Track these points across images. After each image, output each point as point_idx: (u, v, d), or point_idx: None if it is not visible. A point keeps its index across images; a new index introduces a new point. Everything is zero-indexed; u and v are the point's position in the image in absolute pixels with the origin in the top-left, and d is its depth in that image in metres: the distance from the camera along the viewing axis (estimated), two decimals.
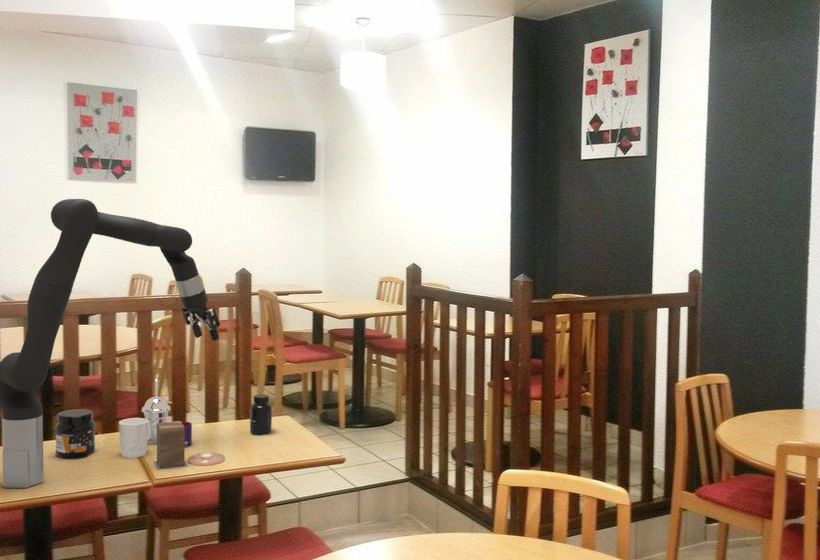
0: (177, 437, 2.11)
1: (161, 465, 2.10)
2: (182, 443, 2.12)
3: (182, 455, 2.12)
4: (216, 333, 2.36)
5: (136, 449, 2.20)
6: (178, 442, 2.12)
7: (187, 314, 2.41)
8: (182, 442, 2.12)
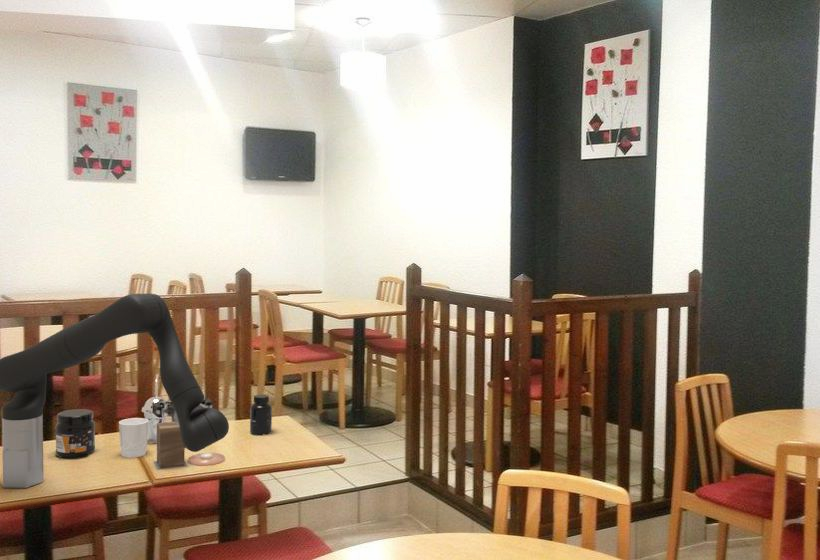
0: (177, 437, 2.11)
1: (161, 465, 2.10)
2: (182, 443, 2.12)
3: (182, 455, 2.12)
4: None
5: (136, 449, 2.20)
6: (178, 442, 2.12)
7: None
8: (182, 442, 2.12)
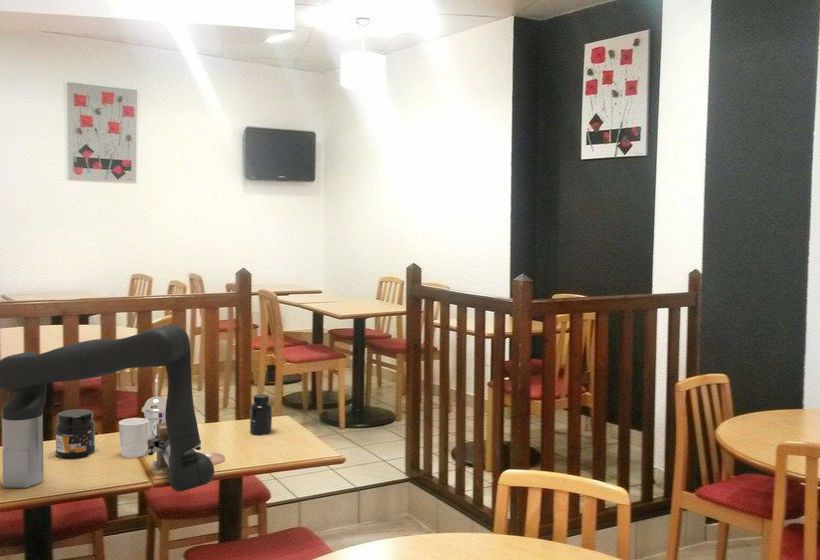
0: None
1: (161, 465, 2.10)
2: None
3: None
4: None
5: (136, 449, 2.20)
6: None
7: None
8: None
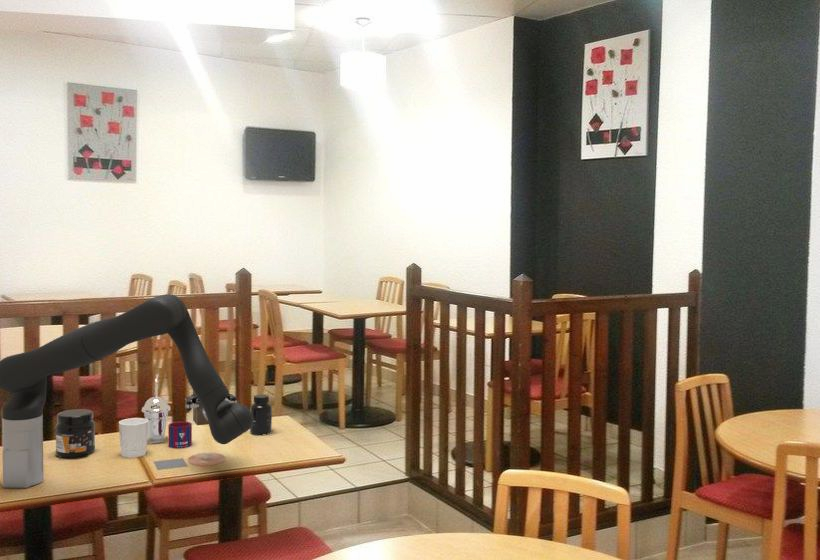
0: None
1: (198, 422, 2.13)
2: None
3: None
4: None
5: (136, 449, 2.20)
6: None
7: (230, 399, 2.14)
8: None
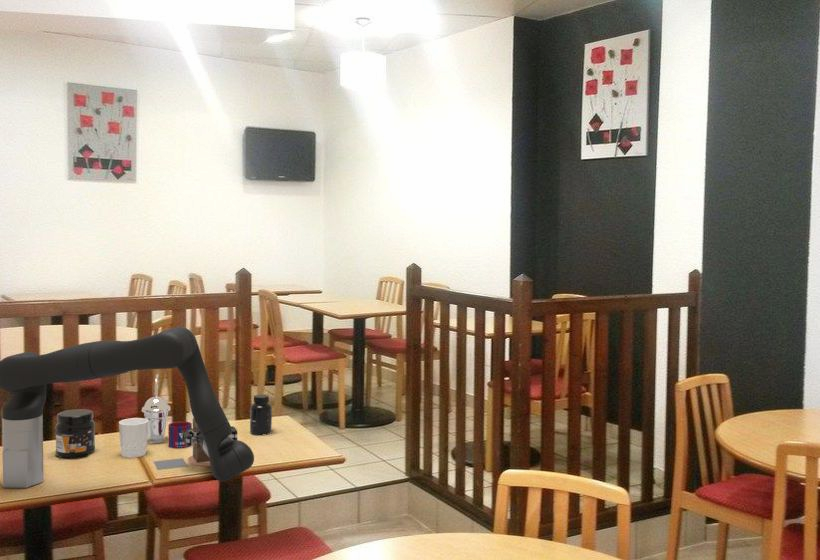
0: None
1: (198, 459, 2.14)
2: None
3: None
4: None
5: (136, 449, 2.20)
6: None
7: (231, 432, 2.15)
8: None
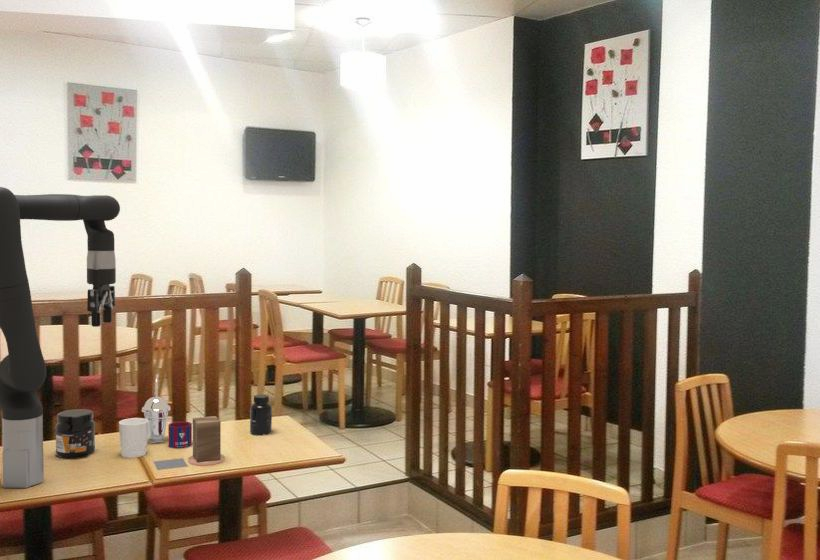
0: (213, 431, 2.15)
1: (198, 459, 2.14)
2: (218, 438, 2.16)
3: (218, 449, 2.16)
4: (95, 319, 2.12)
5: (136, 449, 2.20)
6: (214, 437, 2.15)
7: None
8: (218, 437, 2.16)
